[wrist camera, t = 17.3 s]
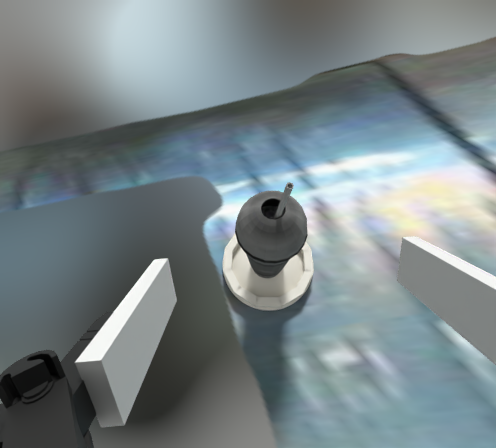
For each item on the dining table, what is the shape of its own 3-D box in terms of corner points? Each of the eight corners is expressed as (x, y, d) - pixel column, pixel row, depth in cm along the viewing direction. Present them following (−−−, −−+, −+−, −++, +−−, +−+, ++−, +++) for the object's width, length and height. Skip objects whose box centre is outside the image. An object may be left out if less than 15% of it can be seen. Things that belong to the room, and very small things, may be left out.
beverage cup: (268, 230, 36) (277, 122, 19) (303, 264, 34) (354, 177, 16) (231, 261, 34) (203, 172, 17) (265, 299, 32) (276, 244, 14)
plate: (330, 281, 33) (334, 277, 32) (250, 329, 31) (249, 328, 29) (281, 211, 39) (282, 205, 37) (209, 248, 36) (206, 243, 35)
